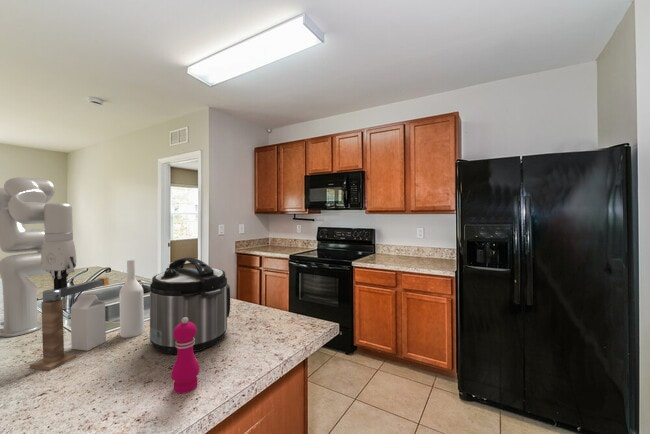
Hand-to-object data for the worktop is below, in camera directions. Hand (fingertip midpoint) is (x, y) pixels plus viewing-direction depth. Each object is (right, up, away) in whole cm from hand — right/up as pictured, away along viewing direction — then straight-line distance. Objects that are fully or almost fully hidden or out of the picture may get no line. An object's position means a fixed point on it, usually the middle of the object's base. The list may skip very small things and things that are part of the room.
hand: (60, 288), depth 105 cm
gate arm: (+7, -1, -1) cm, 7 cm away
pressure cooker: (+43, -22, +9) cm, 49 cm away
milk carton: (+7, -22, +4) cm, 23 cm away
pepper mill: (+55, -23, -21) cm, 63 cm away
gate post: (+5, -22, -8) cm, 24 cm away
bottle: (+16, -22, +14) cm, 31 cm away
